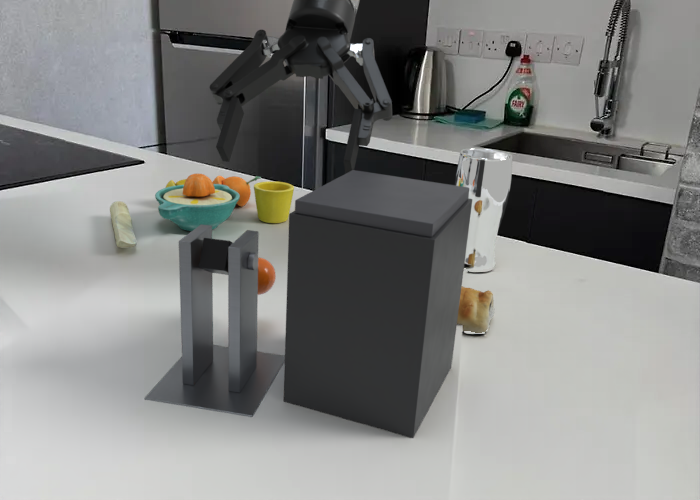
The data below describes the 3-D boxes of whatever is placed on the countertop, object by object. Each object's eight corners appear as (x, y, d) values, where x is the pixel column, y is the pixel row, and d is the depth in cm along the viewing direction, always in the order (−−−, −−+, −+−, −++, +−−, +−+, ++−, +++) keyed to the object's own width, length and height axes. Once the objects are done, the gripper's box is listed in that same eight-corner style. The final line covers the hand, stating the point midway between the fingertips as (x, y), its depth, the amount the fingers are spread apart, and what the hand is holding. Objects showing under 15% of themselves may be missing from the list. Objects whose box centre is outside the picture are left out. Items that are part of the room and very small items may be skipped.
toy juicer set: (234, 193, 116) (234, 148, 113) (301, 221, 104) (302, 171, 101) (64, 219, 98) (60, 166, 95) (120, 258, 85) (116, 198, 82)
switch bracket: (194, 352, 64) (191, 212, 59) (287, 366, 62) (291, 223, 58) (144, 410, 55) (136, 249, 50) (252, 429, 53) (254, 264, 48)
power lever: (241, 294, 67) (247, 258, 68) (276, 299, 66) (282, 263, 67) (188, 273, 53) (196, 229, 54) (232, 279, 53) (240, 234, 53)
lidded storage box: (271, 409, 56) (277, 198, 50) (330, 347, 66) (340, 167, 60) (411, 450, 52) (436, 225, 46) (450, 377, 62) (474, 187, 56)
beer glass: (482, 254, 94) (496, 147, 89) (508, 273, 88) (525, 159, 83) (436, 257, 92) (449, 147, 87) (460, 276, 86) (475, 160, 81)
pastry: (399, 323, 72) (403, 290, 71) (412, 300, 78) (415, 269, 77) (489, 339, 70) (493, 306, 69) (494, 314, 76) (499, 282, 75)
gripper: (430, 40, 81) (403, 192, 73) (231, 25, 85) (183, 168, 77) (430, -9, 75) (401, 153, 66) (215, -22, 79) (160, 128, 70)
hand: (284, 161), depth 71 cm, fingers open, 13 cm apart
